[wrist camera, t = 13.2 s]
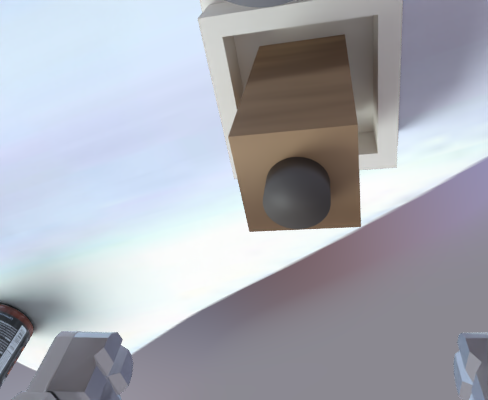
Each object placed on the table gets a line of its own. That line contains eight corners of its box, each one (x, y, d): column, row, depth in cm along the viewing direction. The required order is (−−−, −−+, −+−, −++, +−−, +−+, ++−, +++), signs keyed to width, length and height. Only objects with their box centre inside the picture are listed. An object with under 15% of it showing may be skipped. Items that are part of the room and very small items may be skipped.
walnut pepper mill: (259, 46, 23) (221, 154, 15) (344, 34, 22) (360, 142, 14) (271, 121, 26) (245, 251, 17) (348, 113, 25) (363, 247, 16)
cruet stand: (158, -228, 18) (-26, -337, 9) (407, -301, 16) (538, -556, 6) (238, 146, 29) (196, 289, 19) (394, 133, 27) (436, 286, 17)
